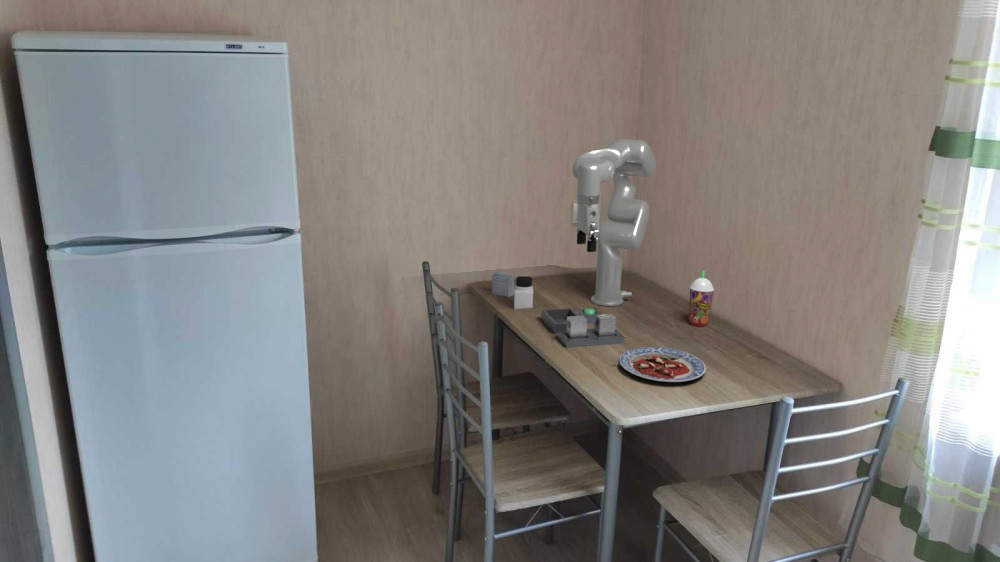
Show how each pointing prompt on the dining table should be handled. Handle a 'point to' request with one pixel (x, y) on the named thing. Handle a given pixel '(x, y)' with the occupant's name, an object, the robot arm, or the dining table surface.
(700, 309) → the smoothie
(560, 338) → the pallet
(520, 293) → the medicine bottle
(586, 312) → the button
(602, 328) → the billet
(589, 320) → the button housing
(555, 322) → the tote
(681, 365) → the ceramic plate
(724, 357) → the dining table surface
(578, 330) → the billet
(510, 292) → the medicine box
